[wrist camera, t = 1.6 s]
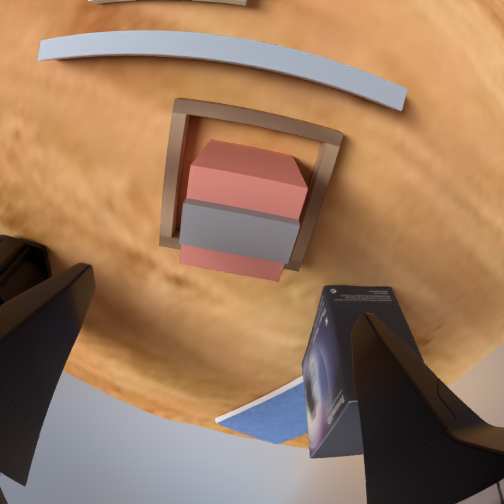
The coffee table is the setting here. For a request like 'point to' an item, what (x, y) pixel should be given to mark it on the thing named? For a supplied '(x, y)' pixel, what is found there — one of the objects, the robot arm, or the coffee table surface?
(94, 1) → the socket
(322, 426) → the small box
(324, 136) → the frame
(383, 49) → the coffee table surface
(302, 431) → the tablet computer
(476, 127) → the coffee table surface
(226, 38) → the door edge rail
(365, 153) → the coffee table surface
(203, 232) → the block
